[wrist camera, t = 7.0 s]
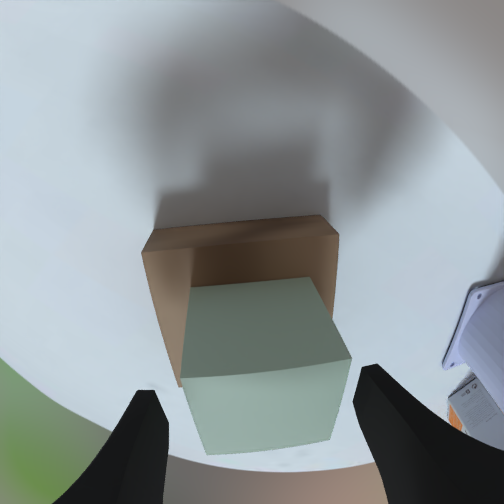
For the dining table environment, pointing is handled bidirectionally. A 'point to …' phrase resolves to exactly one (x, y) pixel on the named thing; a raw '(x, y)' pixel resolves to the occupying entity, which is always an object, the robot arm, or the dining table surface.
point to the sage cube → (262, 366)
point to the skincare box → (477, 414)
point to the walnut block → (234, 264)
